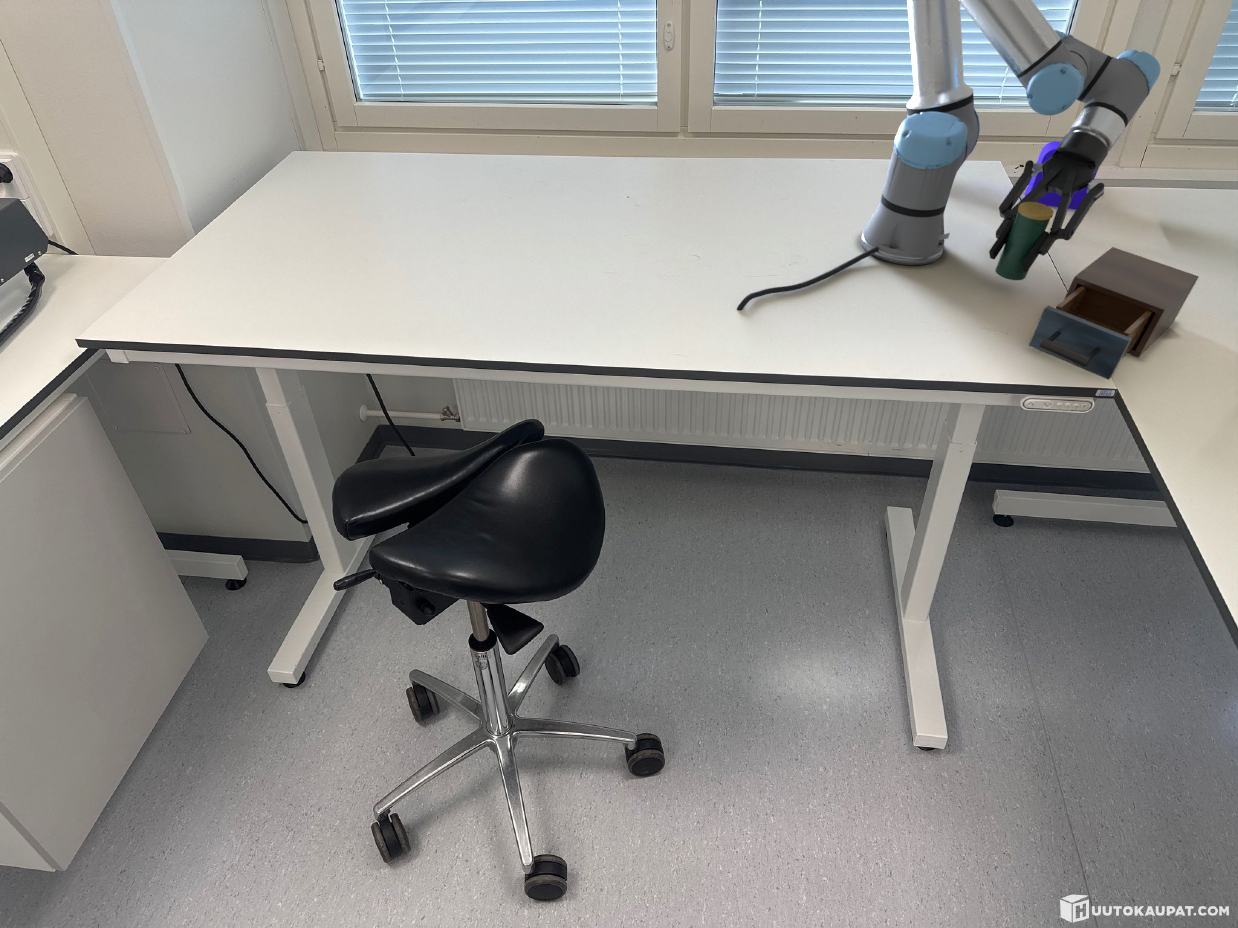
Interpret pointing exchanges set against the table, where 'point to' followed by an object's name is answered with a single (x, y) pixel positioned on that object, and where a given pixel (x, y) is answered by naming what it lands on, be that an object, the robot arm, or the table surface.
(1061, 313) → the drawer
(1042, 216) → the tea tin
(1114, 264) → the cabinet
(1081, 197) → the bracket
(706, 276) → the table surface
